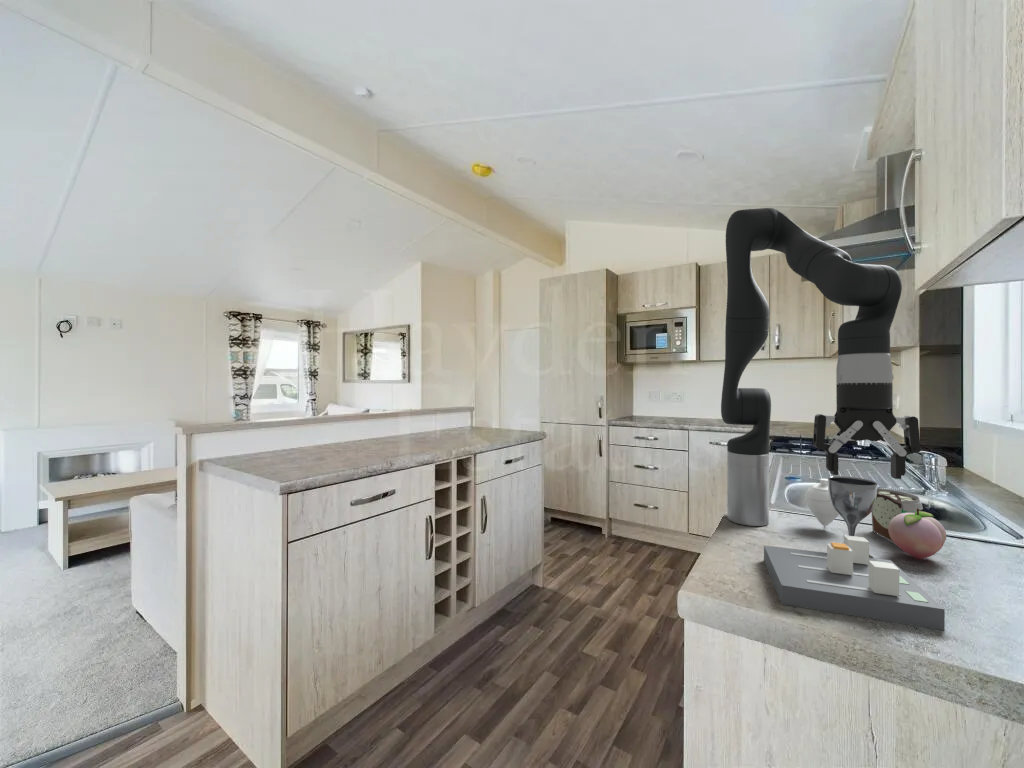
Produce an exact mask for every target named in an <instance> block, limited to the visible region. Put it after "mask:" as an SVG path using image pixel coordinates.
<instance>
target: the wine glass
mask: <svg viewBox="0 0 1024 768" xmlns="http://www.w3.org/2000/svg"><path fill="white" fill-rule="evenodd" d="M827 479H828V493H829V498H830V502H831V504H832V506H833V507H834V509H835V510H836V511H837V512H838V513H839V516H840V517H841V518H842V519H843V521H844V522H845V524H846V526H847V530H848V536H856V535H855V533H856V530H857V529H856V528H857V526H858V525H859V523H860V522H861V521H863V520H864V519H865V518H867V517H868V516H869V515H870V514H872V511H873V509H874V506H875V503H876V499H877V488H878V483H877V482H876V481H874V480H870V479H867V478H862V477H855V476H854V477H853V476H842V475H841V476H840V475H832V476H829V477H827ZM869 558H874V556H873V555H872V554H870V553H869ZM874 559H875V558H874Z"/></svg>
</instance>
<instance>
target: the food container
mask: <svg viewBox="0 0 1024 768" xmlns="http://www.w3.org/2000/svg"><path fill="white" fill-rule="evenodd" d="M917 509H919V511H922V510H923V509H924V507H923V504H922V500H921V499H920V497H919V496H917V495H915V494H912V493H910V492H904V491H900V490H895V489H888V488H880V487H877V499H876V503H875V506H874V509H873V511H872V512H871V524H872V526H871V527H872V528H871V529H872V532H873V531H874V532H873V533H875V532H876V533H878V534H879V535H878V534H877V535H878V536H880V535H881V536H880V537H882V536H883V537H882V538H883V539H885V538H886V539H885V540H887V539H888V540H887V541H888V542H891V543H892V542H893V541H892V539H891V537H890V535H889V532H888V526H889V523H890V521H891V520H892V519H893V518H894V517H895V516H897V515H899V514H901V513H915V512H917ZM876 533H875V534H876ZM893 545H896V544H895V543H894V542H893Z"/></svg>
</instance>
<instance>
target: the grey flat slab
mask: <svg viewBox="0 0 1024 768" xmlns="http://www.w3.org/2000/svg"><path fill="white" fill-rule="evenodd" d="M869 561H877V562H885V563H893V564H894V565H895V566H896V567H897V568H898V569H899V570H900V573H899V596H893V595H886V594H879V593H874V592H873V590H872V589H871V588H870V587H869V565H867V564H859V563H853V575H847V574H839V573H832V572H831V571H830V570H829V569H828V567H827V552H825V551H824V552H823V551H815V550H807V549H806V550H805V549H797V548H790V547H781V546H773V545H763V562H764V565H765V566H766V570H767V572H768V574H769V576H770V579H771V582H772V584H773V587H774V588H775V592H776V593H777V596H778V599H779V601H780V603H781V605H786V606H792V607H799V608H805V609H811V610H817V611H822V612H830V613H836V614H842V615H848V616H854V617H859V618H860V617H861V618H866V619H873V620H879V621H884V622H891V623H896V624H897V623H898V624H904V625H910V626H915V627H922V628H928V629H934V630H939V631H941V630H942V631H945V622H946V621H945V618H946V616H945V614H946V612H945V608H944V607H943V606H942V605H940V604H939V603H938V602H937V601H936V600H935V599H934V598H933V597H932V596H931V595H930V594H929V593H927V592H926V591H925V590H924V589H923V588H922V587H921V586H920V585H918V584H917V583H916V582H915V581H914V580H913V579H912V578H911V577H910V576H908V575H907V574H906V573H905V572H904V571H903V570H902V569H901V568H900V567H899V566H897V564H895V563H894V562H893V561H892V560H890V559H883V558H882V559H881V558H869Z"/></svg>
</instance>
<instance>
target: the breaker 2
mask: <svg viewBox="0 0 1024 768" xmlns="http://www.w3.org/2000/svg"><path fill="white" fill-rule="evenodd" d="M893 563H894V562H893ZM893 563H885V562H877V561H869V587H870V588H871V589H872V590H873V592H874V593H879V594H886V595H893V596H899V573H900V570H899V569H898V568H897V567H898V566H897V565H896V564H895V563H894V564H895V565H896V566H897V567H896V566H895V565H894V564H893Z"/></svg>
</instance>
